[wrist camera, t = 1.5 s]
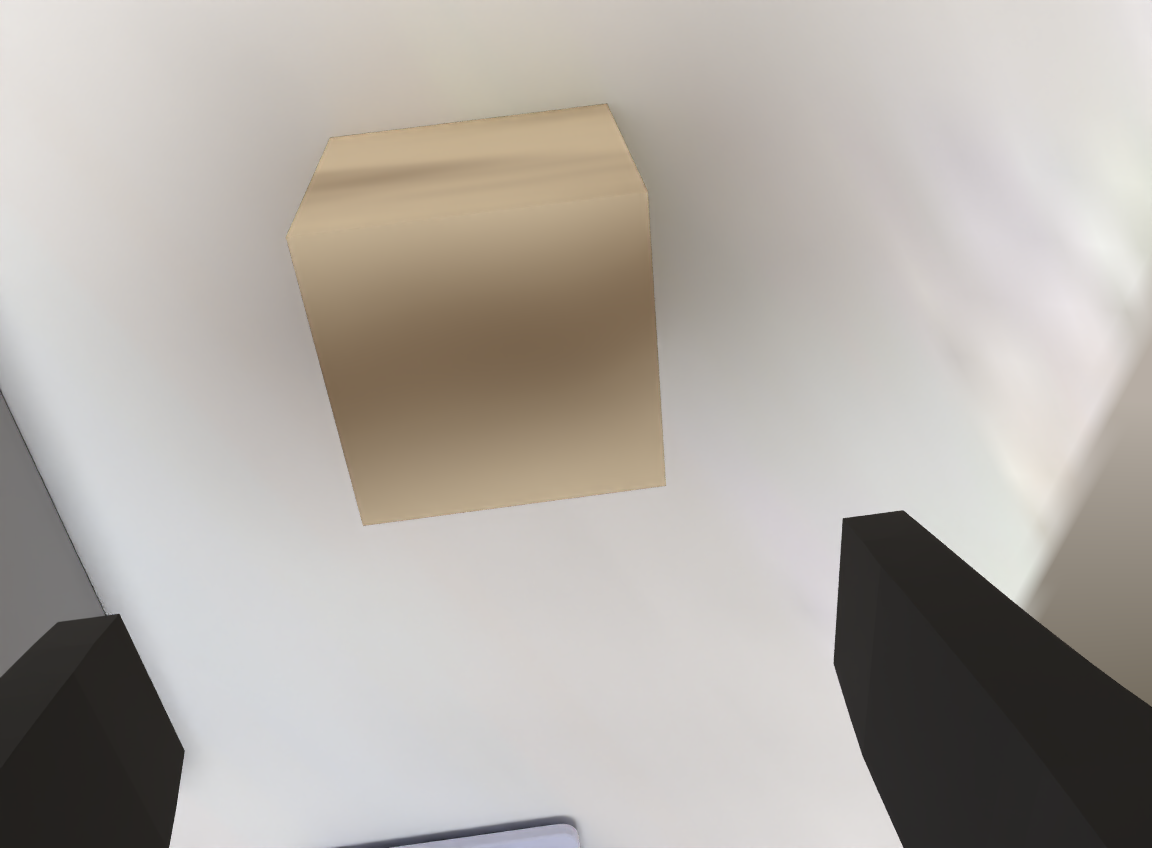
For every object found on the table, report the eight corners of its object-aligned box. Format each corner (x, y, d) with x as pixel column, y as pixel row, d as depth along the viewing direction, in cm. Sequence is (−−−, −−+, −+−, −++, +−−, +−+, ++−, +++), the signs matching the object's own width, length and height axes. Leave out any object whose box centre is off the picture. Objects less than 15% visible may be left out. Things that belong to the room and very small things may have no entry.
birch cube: (626, 347, 21) (666, 485, 16) (385, 378, 20) (362, 526, 16) (605, 102, 18) (647, 191, 14) (330, 136, 18) (286, 236, 14)
